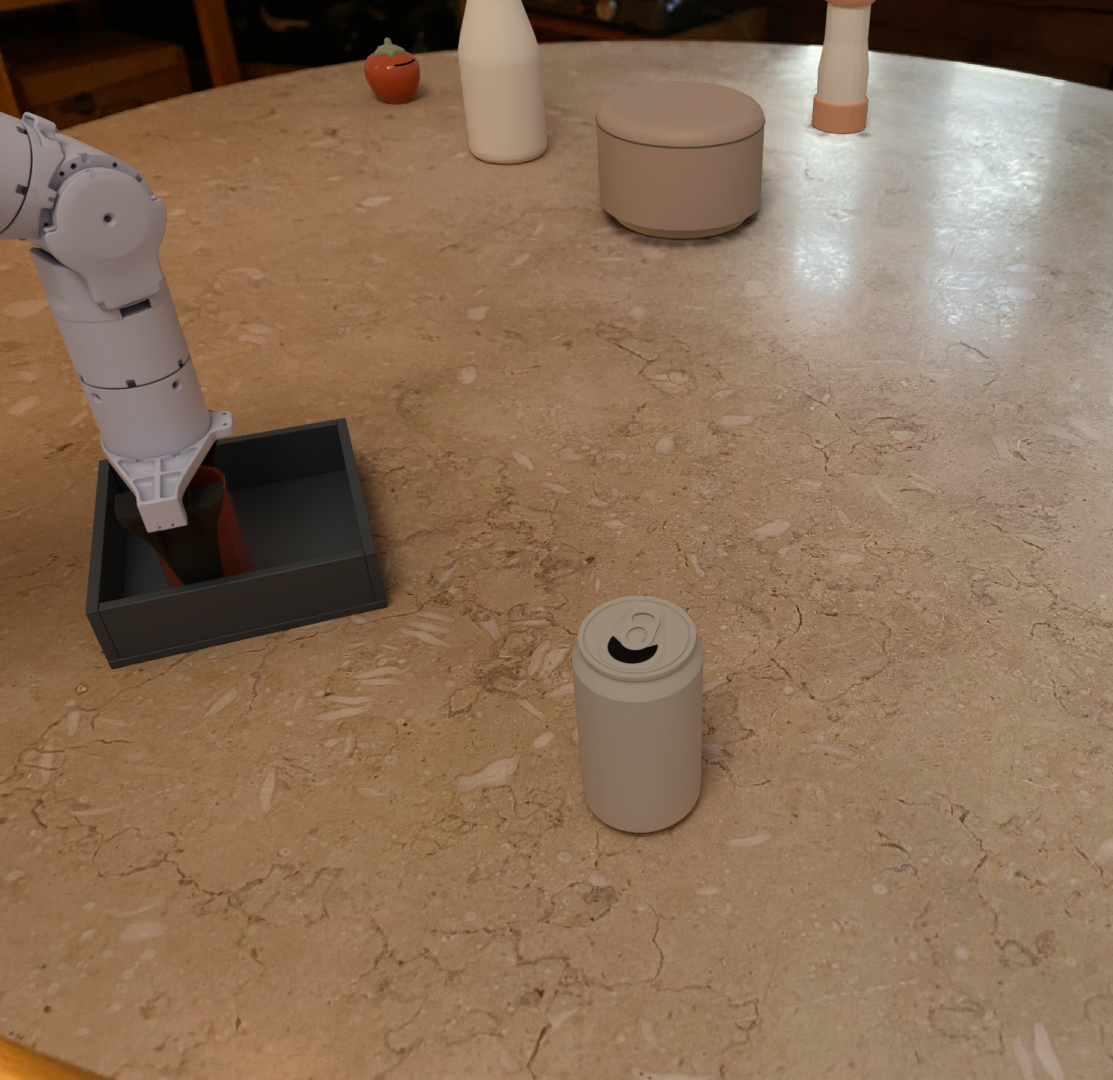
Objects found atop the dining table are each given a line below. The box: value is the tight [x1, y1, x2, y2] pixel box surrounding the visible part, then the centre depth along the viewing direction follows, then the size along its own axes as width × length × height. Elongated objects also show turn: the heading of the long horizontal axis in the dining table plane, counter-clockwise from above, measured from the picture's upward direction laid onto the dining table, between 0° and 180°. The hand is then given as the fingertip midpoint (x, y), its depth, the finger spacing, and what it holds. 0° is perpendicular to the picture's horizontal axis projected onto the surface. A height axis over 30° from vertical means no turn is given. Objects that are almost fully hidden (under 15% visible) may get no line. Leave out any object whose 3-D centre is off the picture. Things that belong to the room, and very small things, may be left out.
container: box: [594, 80, 766, 240], centre depth 118 cm, size 18×18×12 cm
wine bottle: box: [457, 0, 548, 165], centre depth 126 cm, size 10×10×30 cm
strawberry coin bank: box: [363, 37, 421, 105], centre depth 148 cm, size 7×7×8 cm
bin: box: [84, 417, 389, 669], centre depth 73 cm, size 16×16×5 cm
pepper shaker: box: [811, 0, 876, 134], centre depth 140 cm, size 7×7×19 cm
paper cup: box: [154, 465, 253, 588], centre depth 68 cm, size 5×5×7 cm
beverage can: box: [571, 595, 705, 834], centre depth 56 cm, size 6×6×12 cm
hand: (202, 552), depth 69 cm, fingers closed on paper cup, 5 cm apart
